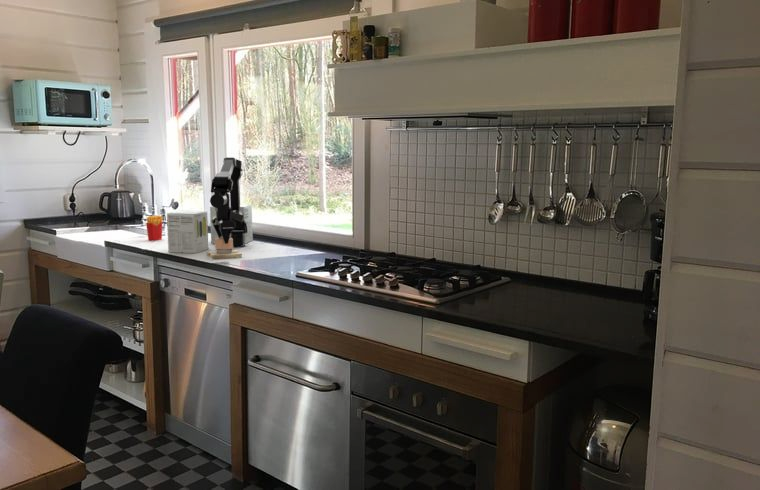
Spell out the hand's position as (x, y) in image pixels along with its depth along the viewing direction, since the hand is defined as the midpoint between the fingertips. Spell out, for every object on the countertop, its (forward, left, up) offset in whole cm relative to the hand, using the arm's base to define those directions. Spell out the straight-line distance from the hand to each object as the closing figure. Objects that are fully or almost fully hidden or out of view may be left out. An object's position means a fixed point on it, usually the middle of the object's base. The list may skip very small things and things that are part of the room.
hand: (224, 242), depth 272 cm
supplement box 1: (-21, -11, -6) cm, 25 cm away
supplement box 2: (-39, +13, -6) cm, 42 cm away
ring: (0, 0, -2) cm, 2 cm away
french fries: (-61, -20, -6) cm, 65 cm away
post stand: (0, 0, -6) cm, 6 cm away
